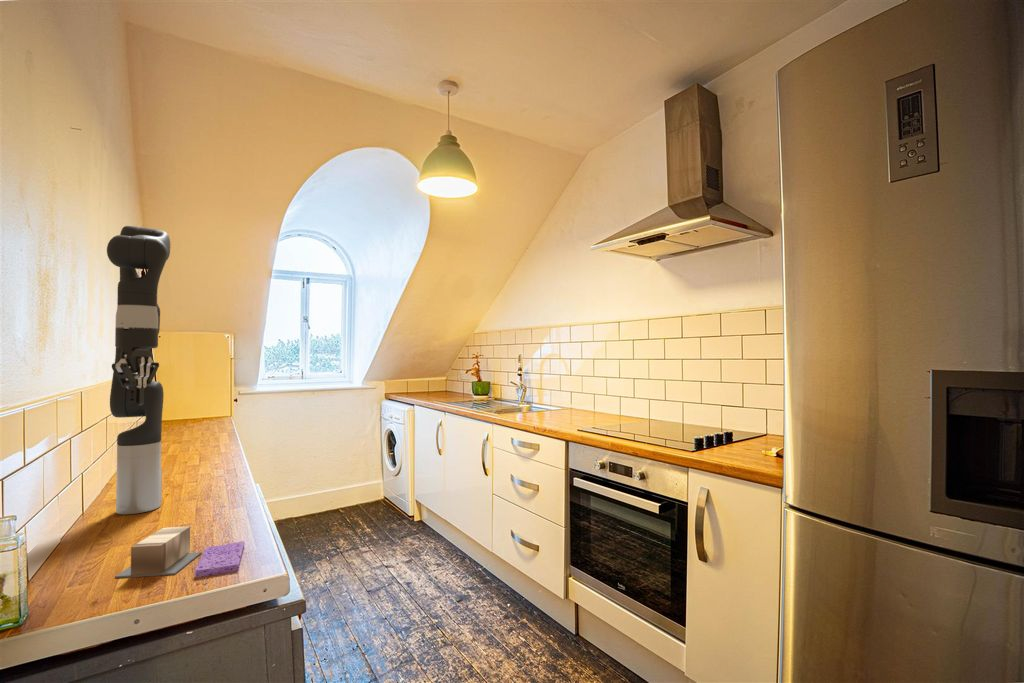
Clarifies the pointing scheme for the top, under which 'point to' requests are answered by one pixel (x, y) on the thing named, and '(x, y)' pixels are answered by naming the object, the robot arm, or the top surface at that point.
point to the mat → (169, 571)
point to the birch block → (160, 550)
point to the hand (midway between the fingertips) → (136, 405)
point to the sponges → (220, 559)
